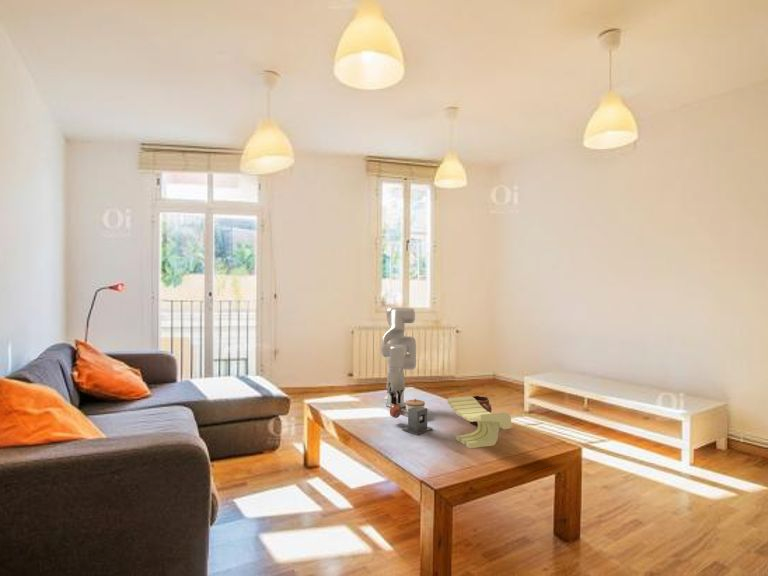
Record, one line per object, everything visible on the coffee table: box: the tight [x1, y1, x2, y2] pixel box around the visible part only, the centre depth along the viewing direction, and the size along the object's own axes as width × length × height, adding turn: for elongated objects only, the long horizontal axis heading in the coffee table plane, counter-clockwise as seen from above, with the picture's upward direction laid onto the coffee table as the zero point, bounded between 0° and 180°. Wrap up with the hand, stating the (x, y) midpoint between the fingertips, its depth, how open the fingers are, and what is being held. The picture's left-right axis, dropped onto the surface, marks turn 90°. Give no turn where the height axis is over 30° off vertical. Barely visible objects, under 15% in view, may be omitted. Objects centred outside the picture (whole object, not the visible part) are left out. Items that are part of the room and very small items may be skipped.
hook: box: [389, 393, 423, 421], centre depth 235 cm, size 20×7×13 cm, turn 44°
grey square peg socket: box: [402, 406, 434, 436], centre depth 229 cm, size 10×12×11 cm
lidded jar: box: [405, 398, 426, 412], centre depth 255 cm, size 11×11×9 cm
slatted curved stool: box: [447, 395, 512, 449], centre depth 214 cm, size 30×16×18 cm, turn 20°
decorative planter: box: [468, 395, 493, 426], centre depth 242 cm, size 20×12×14 cm, turn 20°
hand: (395, 403), depth 241 cm, fingers closed on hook, 2 cm apart
